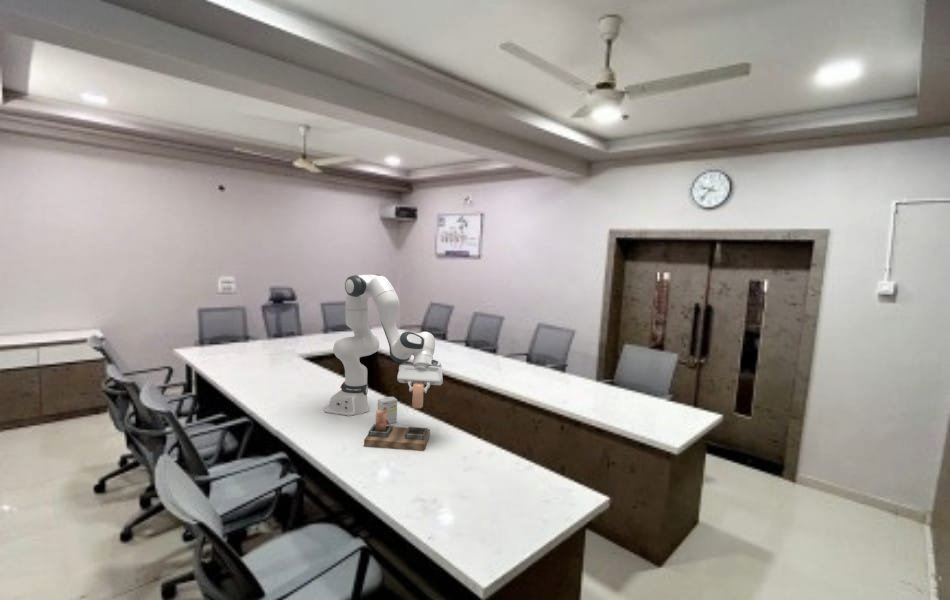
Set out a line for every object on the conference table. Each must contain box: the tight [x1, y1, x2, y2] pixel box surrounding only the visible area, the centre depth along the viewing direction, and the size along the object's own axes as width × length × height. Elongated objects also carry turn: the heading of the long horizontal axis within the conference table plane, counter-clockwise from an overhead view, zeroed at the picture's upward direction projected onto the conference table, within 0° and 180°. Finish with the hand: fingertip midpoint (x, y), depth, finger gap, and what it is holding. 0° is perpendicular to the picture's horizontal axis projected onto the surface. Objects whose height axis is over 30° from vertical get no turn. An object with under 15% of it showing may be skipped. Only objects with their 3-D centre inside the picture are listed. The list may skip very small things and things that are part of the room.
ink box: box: [376, 396, 398, 425], centre depth 220 cm, size 9×5×12 cm, turn 127°
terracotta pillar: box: [411, 383, 425, 409], centre depth 198 cm, size 5×5×10 cm
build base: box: [363, 409, 431, 452], centre depth 200 cm, size 26×16×13 cm, turn 87°
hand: (417, 391), depth 197 cm, fingers closed on terracotta pillar, 5 cm apart
